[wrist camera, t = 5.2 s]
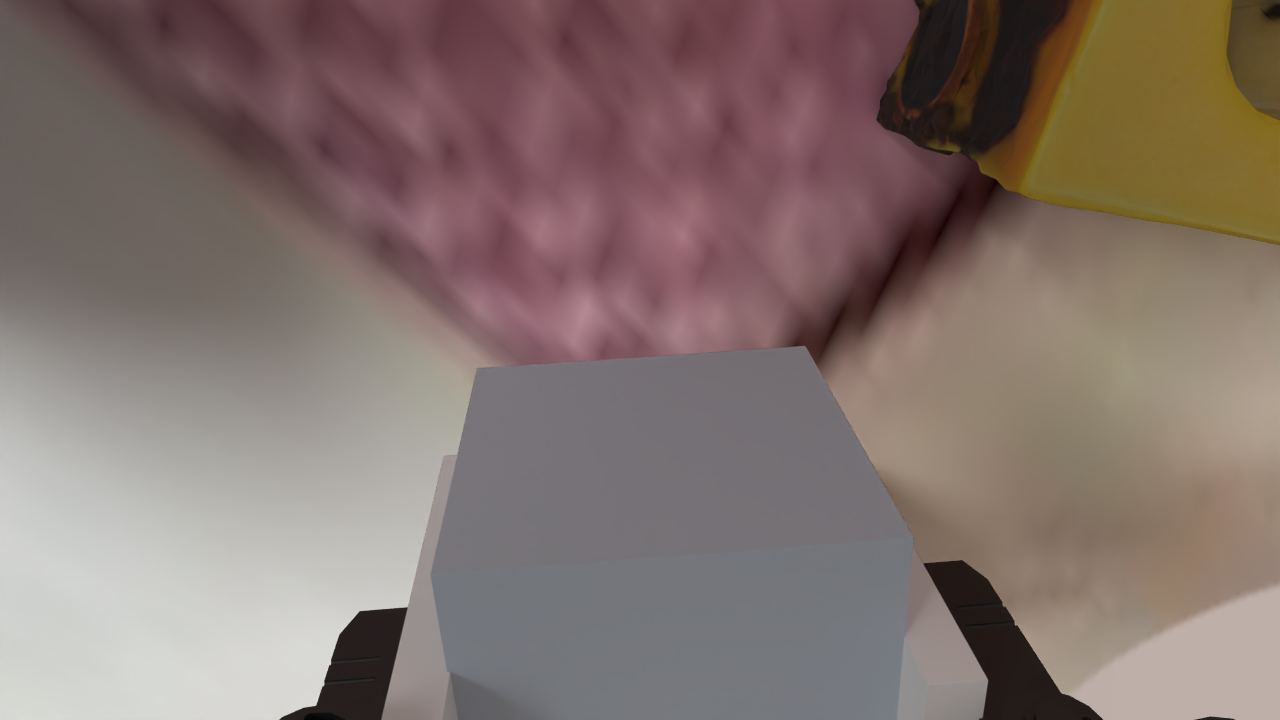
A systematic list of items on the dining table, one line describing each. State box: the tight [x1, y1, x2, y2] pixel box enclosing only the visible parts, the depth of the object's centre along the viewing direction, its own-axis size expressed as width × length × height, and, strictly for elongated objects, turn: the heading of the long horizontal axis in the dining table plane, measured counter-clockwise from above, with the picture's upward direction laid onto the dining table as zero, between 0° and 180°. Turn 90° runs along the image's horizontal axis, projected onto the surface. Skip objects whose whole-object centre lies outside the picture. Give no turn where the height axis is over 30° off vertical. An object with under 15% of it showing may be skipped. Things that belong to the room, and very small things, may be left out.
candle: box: [876, 0, 1280, 245], centre depth 23 cm, size 10×10×10 cm
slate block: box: [430, 346, 914, 720], centre depth 15 cm, size 6×6×6 cm
